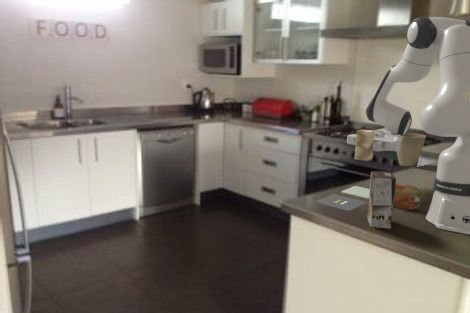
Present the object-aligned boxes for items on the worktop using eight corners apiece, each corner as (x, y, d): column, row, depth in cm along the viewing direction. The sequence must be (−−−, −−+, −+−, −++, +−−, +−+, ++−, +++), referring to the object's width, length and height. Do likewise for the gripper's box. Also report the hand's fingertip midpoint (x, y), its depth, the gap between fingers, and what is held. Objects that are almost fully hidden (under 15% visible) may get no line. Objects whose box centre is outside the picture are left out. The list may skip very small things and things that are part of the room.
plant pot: (391, 160, 225) (394, 132, 222) (421, 163, 220) (424, 133, 217) (391, 166, 212) (394, 135, 208) (423, 169, 207) (427, 138, 203)
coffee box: (391, 229, 127) (396, 178, 124) (369, 227, 128) (374, 177, 125) (387, 219, 136) (391, 171, 132) (366, 217, 137) (371, 170, 134)
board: (387, 194, 163) (387, 193, 163) (374, 200, 154) (374, 199, 154) (354, 187, 172) (355, 185, 172) (340, 193, 164) (340, 191, 163)
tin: (375, 204, 151) (377, 181, 149) (378, 201, 154) (380, 180, 152) (419, 212, 143) (422, 189, 141) (421, 209, 146) (424, 186, 144)
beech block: (372, 159, 159) (375, 130, 156) (366, 161, 155) (369, 132, 153) (360, 156, 162) (362, 129, 160) (354, 158, 159) (356, 130, 156)
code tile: (367, 202, 152) (367, 202, 152) (348, 211, 142) (348, 210, 142) (333, 194, 161) (333, 193, 161) (314, 202, 151) (314, 201, 151)
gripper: (356, 129, 173) (340, 132, 163) (405, 135, 160) (391, 139, 150) (355, 144, 175) (339, 148, 165) (403, 151, 161) (389, 156, 151)
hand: (364, 144), depth 157 cm, fingers closed on beech block, 5 cm apart
